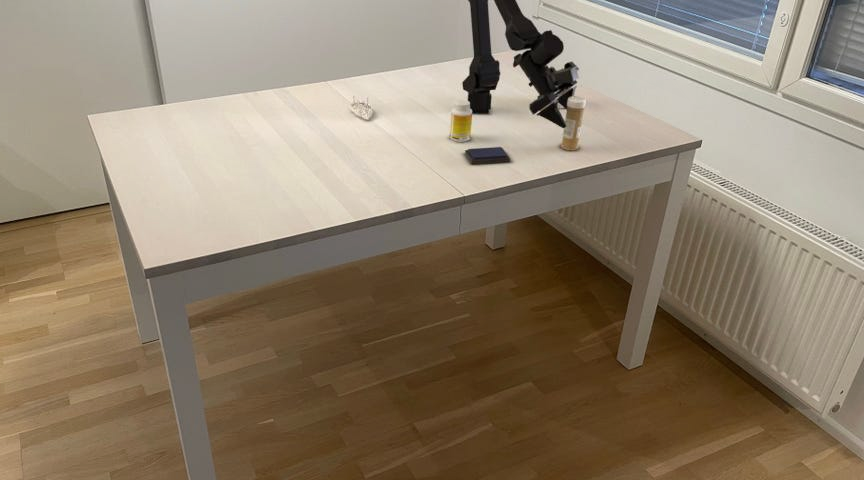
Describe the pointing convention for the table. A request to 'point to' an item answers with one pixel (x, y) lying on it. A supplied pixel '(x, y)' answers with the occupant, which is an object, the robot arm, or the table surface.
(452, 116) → the supplement bottle
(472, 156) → the ink pad
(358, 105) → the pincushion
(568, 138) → the sprinkles bottle
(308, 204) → the table surface
